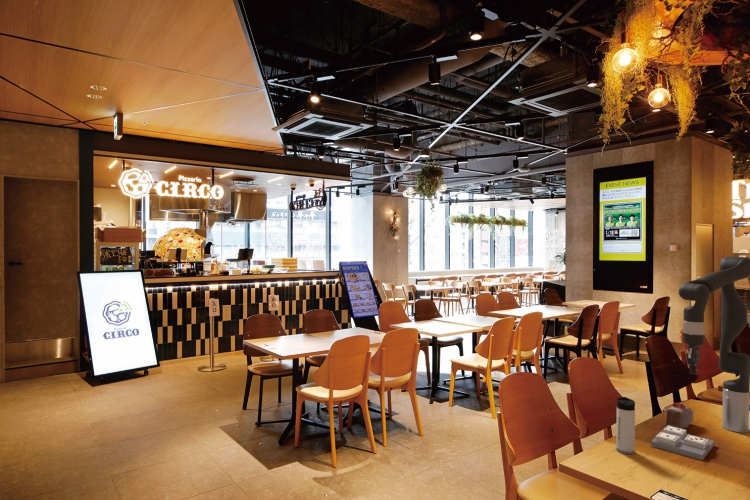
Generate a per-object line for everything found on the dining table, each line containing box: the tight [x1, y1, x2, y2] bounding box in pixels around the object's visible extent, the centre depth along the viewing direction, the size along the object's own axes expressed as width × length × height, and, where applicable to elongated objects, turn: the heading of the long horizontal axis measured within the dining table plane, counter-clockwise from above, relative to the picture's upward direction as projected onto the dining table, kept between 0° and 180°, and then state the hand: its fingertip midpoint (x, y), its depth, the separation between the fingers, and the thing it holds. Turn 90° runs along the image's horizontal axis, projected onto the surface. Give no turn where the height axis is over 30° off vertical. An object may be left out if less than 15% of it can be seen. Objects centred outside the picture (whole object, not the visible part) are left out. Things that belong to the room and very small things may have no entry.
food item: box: [664, 402, 694, 429], centre depth 208 cm, size 14×8×10 cm, turn 130°
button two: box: [666, 426, 684, 433], centre depth 193 cm, size 5×5×2 cm
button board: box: [650, 425, 715, 461], centre depth 186 cm, size 19×17×4 cm
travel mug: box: [615, 396, 636, 455], centre depth 181 cm, size 6×7×20 cm
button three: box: [687, 435, 706, 443], centre depth 183 cm, size 5×5×2 cm
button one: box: [659, 433, 677, 440], centre depth 186 cm, size 5×5×2 cm
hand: (692, 374), depth 192 cm, fingers closed
